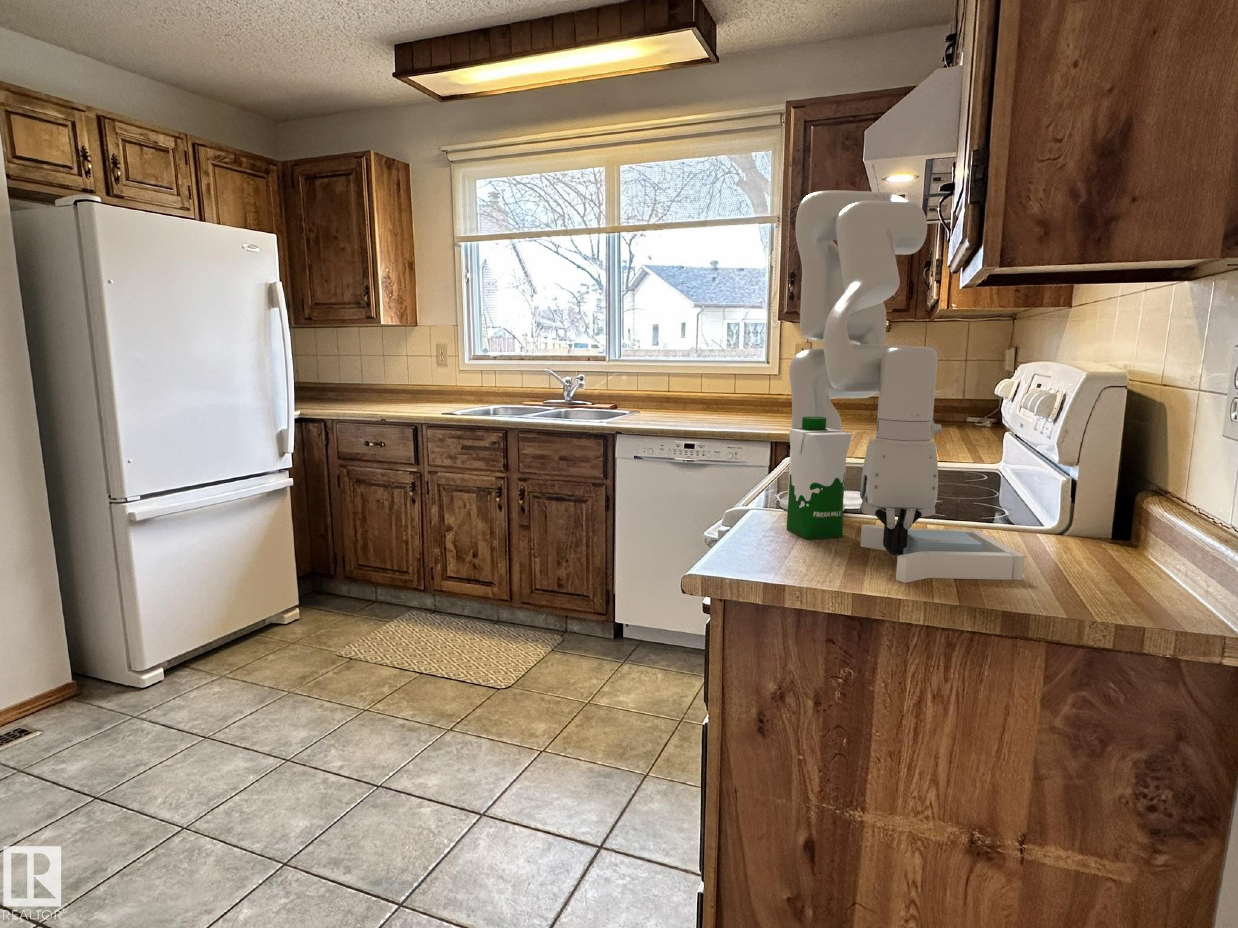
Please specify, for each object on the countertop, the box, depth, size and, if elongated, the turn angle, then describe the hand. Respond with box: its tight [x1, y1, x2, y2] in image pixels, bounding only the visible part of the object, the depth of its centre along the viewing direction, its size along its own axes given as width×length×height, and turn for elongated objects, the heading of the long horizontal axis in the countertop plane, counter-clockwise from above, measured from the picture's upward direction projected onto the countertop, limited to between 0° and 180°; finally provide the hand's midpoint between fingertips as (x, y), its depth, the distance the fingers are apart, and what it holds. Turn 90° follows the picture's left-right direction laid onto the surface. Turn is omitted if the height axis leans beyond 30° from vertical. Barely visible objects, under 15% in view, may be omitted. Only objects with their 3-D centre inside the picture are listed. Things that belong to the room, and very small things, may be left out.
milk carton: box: [785, 417, 853, 540], centre depth 119 cm, size 9×9×20 cm
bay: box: [860, 523, 1025, 584], centre depth 105 cm, size 19×18×4 cm
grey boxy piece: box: [903, 530, 983, 555], centre depth 104 cm, size 8×9×4 cm
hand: (894, 552), depth 105 cm, fingers closed
